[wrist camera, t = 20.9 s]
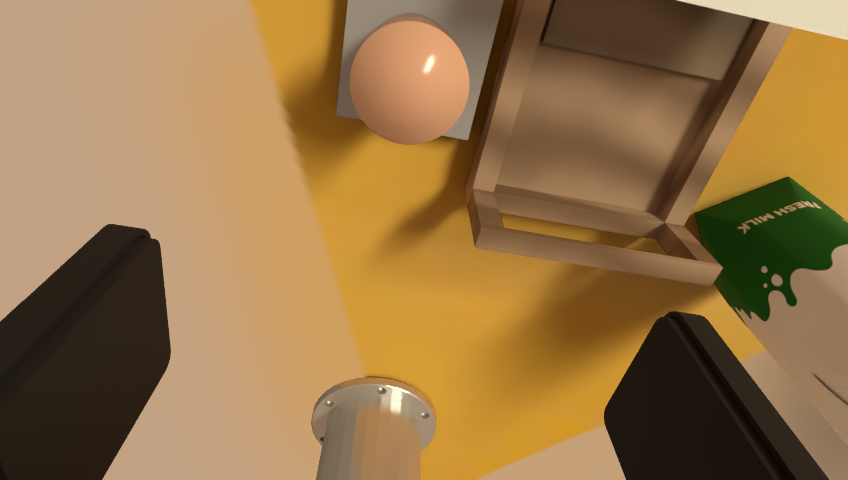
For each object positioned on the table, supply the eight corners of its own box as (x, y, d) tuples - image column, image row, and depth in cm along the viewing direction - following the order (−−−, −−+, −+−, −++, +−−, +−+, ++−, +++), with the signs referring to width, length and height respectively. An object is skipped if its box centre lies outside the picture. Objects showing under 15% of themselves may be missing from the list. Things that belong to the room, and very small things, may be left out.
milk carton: (700, 289, 42) (892, 526, 25) (680, 206, 38) (894, 425, 21) (809, 250, 40) (1098, 479, 23) (800, 158, 36) (1147, 357, 19)
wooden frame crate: (660, 226, 39) (711, 286, 32) (464, 191, 37) (475, 247, 30) (833, -107, 27) (968, -122, 21) (563, -180, 26) (615, -222, 19)
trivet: (465, 132, 35) (467, 140, 33) (338, 108, 34) (335, 115, 32) (501, -7, 30) (504, -4, 29) (354, -40, 29) (351, -39, 28)
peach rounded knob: (446, 114, 32) (453, 153, 26) (356, 96, 32) (342, 132, 26) (469, 18, 29) (483, 37, 23) (369, -5, 28) (357, 9, 23)
